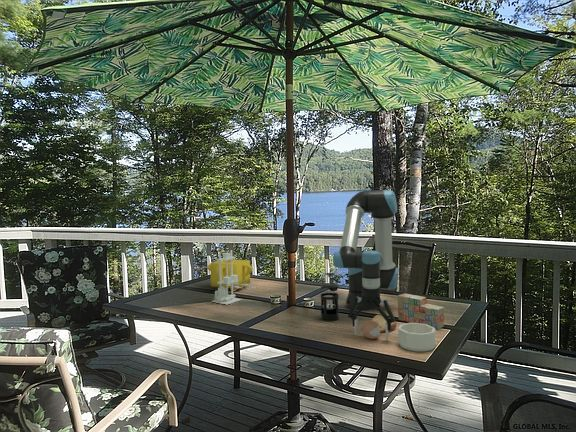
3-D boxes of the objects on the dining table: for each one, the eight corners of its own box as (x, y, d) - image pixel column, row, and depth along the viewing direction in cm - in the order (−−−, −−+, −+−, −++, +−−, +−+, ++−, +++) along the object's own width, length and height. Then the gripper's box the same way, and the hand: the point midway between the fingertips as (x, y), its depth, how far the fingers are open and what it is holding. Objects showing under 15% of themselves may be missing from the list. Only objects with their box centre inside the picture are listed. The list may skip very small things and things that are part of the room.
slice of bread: (381, 318, 212) (381, 310, 211) (409, 327, 196) (409, 319, 196) (354, 324, 202) (354, 316, 202) (380, 335, 187) (380, 326, 187)
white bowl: (396, 348, 170) (396, 331, 169) (402, 337, 183) (402, 321, 182) (432, 353, 164) (432, 336, 164) (436, 341, 177) (436, 325, 176)
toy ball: (376, 342, 177) (376, 324, 176) (359, 339, 181) (359, 321, 180) (383, 337, 183) (383, 319, 183) (366, 334, 188) (366, 316, 187)
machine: (211, 302, 246) (210, 251, 244) (226, 298, 256) (225, 249, 254) (249, 310, 230) (248, 255, 228) (263, 304, 240) (262, 252, 238)
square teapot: (263, 285, 289) (263, 254, 288) (241, 295, 262) (240, 261, 260) (220, 281, 303) (219, 252, 302) (195, 291, 276) (194, 259, 275)
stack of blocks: (444, 326, 196) (444, 300, 195) (437, 329, 192) (437, 303, 191) (405, 316, 212) (404, 292, 211) (397, 319, 208) (397, 295, 207)
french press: (332, 322, 204) (331, 276, 203) (316, 319, 210) (315, 274, 209) (344, 316, 214) (343, 272, 213) (328, 313, 220) (327, 270, 218)
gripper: (340, 286, 183) (341, 334, 184) (398, 291, 172) (399, 342, 173) (345, 283, 189) (346, 329, 191) (402, 287, 179) (402, 336, 180)
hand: (371, 335), depth 182 cm, fingers open, 13 cm apart
